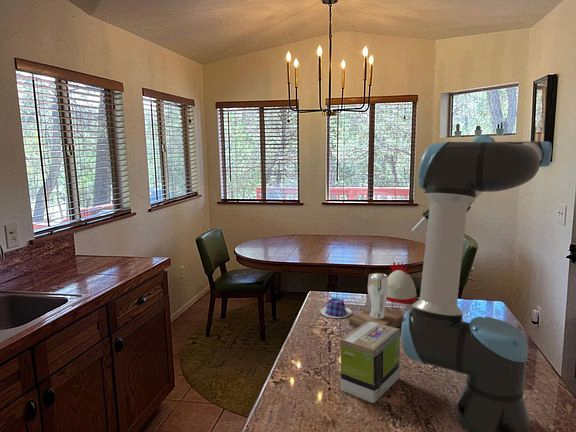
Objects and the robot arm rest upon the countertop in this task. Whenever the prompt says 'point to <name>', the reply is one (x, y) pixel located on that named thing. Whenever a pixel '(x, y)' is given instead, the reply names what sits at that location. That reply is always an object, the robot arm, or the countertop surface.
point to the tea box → (370, 360)
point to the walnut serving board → (390, 320)
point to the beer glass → (377, 295)
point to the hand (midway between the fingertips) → (423, 237)
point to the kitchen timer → (400, 285)
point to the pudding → (336, 309)
